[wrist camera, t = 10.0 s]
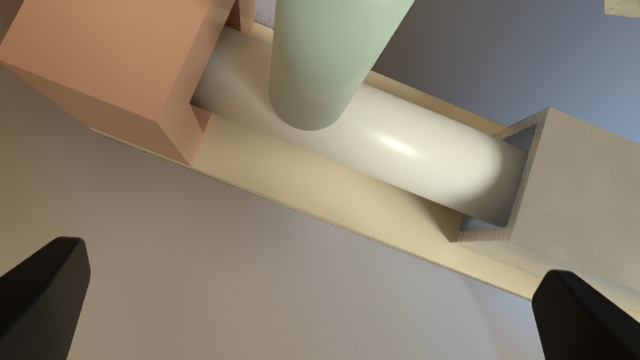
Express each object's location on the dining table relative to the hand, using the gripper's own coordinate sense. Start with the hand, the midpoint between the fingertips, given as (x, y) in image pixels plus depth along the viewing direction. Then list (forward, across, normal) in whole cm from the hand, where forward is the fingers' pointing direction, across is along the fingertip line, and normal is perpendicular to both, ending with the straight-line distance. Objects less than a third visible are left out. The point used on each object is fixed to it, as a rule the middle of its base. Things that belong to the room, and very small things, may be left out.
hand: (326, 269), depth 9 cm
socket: (+13, +5, +2) cm, 14 cm away
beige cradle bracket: (+11, -1, +3) cm, 11 cm away
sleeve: (+9, -12, +6) cm, 16 cm away
